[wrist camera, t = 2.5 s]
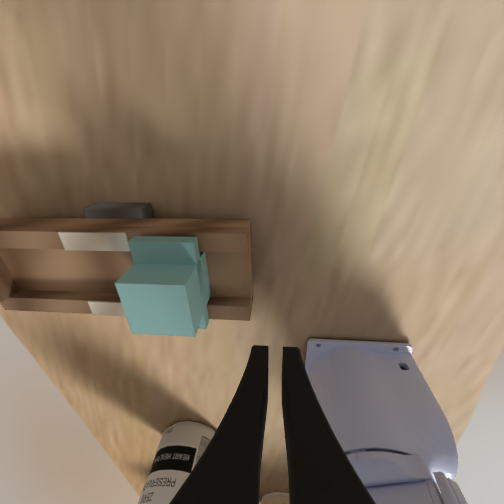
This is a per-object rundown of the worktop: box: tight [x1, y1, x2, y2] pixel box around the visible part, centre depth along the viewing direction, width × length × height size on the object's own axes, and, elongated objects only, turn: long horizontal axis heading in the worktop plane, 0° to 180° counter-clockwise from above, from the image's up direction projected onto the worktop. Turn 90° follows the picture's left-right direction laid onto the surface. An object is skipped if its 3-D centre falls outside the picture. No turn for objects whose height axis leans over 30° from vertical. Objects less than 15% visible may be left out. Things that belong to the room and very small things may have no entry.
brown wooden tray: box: [0, 203, 253, 321], centre depth 19 cm, size 20×8×5 cm, turn 92°
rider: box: [115, 236, 211, 337], centre depth 16 cm, size 4×7×4 cm, turn 2°
